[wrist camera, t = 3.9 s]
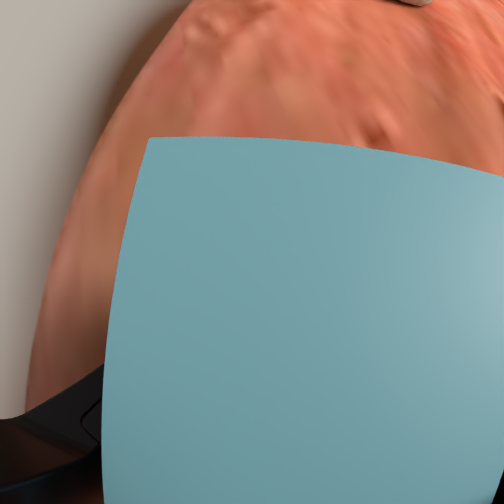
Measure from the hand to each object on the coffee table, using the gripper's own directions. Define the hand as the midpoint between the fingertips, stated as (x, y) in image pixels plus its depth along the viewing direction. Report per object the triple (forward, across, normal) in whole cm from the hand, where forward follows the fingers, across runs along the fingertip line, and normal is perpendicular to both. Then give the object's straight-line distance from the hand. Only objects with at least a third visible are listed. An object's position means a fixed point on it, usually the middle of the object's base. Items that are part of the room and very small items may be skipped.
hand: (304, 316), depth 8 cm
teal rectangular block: (+4, 0, +6) cm, 7 cm away
